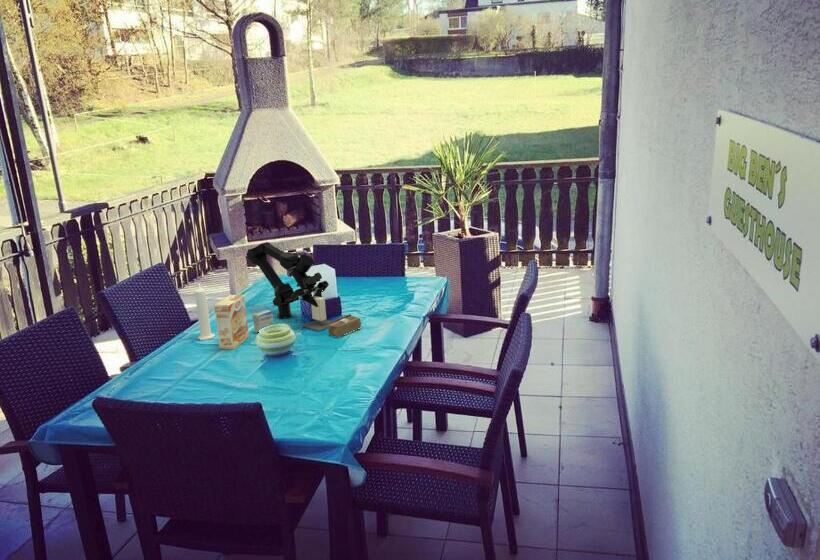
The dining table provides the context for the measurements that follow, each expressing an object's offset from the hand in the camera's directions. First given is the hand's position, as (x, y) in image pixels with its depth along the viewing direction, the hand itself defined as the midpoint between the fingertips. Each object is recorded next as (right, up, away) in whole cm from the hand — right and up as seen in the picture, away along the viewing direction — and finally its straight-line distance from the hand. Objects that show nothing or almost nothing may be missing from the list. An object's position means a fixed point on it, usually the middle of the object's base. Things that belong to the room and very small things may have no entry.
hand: (320, 305), depth 301 cm
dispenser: (+12, -11, -6) cm, 18 cm away
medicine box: (-25, -11, +1) cm, 28 cm away
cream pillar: (-1, -6, +3) cm, 7 cm away
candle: (-50, -14, -5) cm, 52 cm away
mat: (-1, -9, +4) cm, 10 cm away
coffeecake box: (-35, -16, -13) cm, 40 cm away
